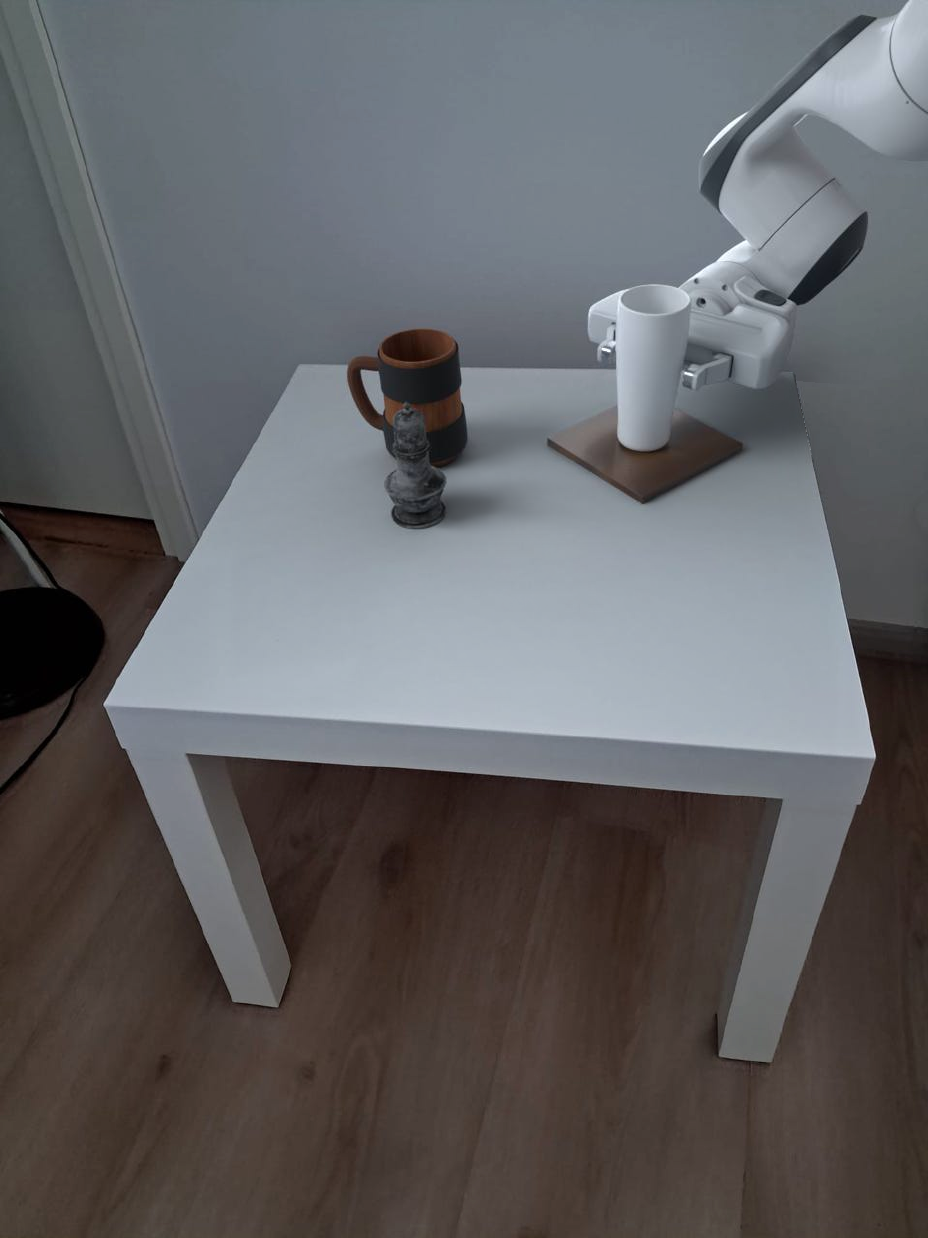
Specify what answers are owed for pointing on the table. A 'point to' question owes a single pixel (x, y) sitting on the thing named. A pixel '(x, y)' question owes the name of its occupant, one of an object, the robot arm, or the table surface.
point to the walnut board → (644, 453)
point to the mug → (416, 389)
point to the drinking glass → (649, 362)
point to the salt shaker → (414, 474)
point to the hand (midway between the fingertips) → (645, 368)
